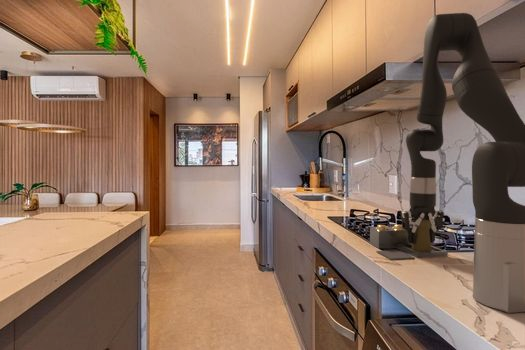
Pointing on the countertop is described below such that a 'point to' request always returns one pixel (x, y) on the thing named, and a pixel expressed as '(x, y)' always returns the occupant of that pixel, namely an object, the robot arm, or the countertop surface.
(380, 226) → the plunger
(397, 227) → the plunger
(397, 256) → the mat
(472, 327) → the countertop surface
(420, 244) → the cork
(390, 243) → the housing
